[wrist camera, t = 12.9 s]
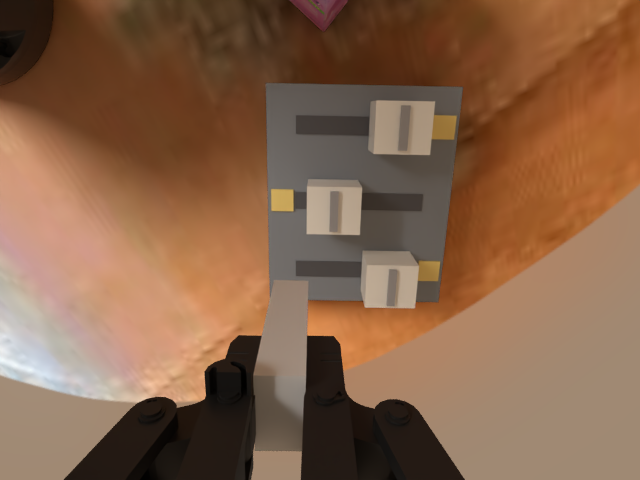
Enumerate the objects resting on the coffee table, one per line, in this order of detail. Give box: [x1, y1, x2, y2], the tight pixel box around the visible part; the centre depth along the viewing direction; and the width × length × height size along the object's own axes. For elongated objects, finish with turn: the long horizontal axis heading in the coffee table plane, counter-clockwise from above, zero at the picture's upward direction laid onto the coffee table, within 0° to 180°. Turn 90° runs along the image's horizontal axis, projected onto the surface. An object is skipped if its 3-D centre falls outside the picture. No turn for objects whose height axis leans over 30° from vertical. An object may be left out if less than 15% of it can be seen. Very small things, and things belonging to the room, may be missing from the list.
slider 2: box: [368, 100, 435, 155], centre depth 30 cm, size 4×4×4 cm
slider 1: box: [307, 179, 362, 235], centre depth 32 cm, size 4×4×4 cm
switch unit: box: [266, 83, 463, 302], centre depth 36 cm, size 15×18×5 cm
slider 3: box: [361, 251, 419, 308], centre depth 34 cm, size 4×4×4 cm
